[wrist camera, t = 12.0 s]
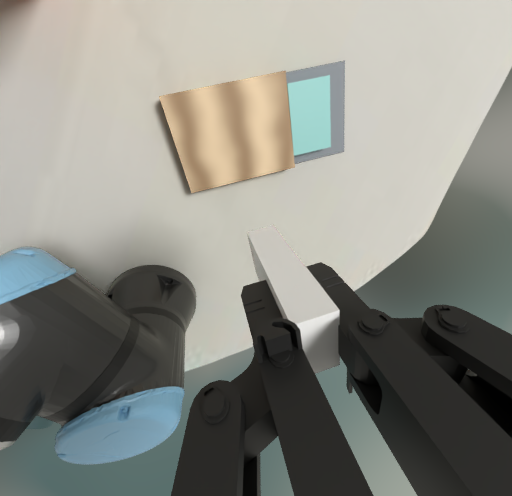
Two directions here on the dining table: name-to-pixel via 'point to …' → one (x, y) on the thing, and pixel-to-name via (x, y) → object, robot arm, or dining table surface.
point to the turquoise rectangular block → (310, 114)
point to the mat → (336, 105)
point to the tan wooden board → (231, 130)
